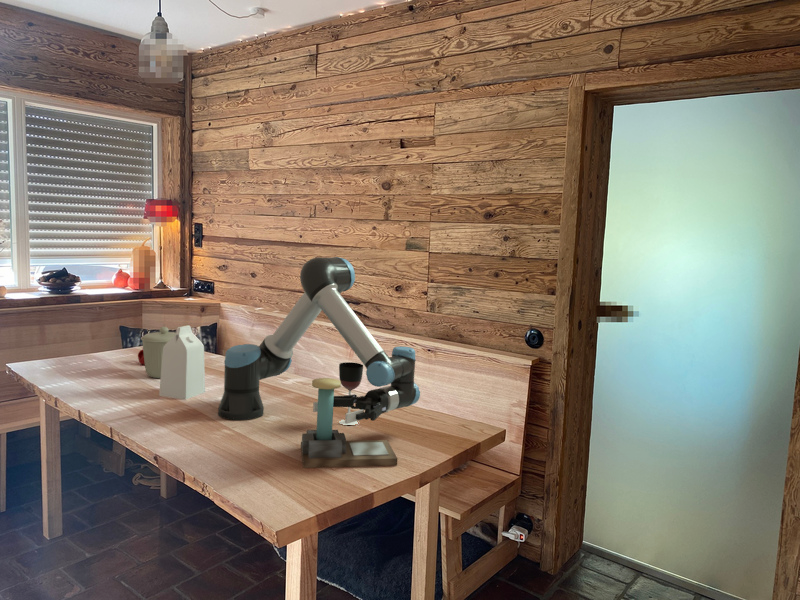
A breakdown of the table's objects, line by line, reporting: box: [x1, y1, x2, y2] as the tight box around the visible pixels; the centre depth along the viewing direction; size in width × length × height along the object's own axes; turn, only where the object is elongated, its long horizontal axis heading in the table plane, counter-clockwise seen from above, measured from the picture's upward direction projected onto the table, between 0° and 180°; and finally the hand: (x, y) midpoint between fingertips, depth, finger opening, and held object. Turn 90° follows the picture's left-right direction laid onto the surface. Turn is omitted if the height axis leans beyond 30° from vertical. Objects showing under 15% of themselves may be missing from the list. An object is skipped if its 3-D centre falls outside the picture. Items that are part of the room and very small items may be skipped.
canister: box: [140, 326, 176, 379], centre depth 247 cm, size 18×18×21 cm
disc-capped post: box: [311, 377, 342, 440], centre depth 165 cm, size 8×8×20 cm
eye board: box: [300, 429, 399, 469], centre depth 167 cm, size 26×15×6 cm, turn 102°
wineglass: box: [338, 361, 364, 425], centre depth 198 cm, size 8×9×20 cm
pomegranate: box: [137, 349, 145, 366], centre depth 267 cm, size 10×10×9 cm
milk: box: [158, 324, 206, 401], centre depth 221 cm, size 12×12×26 cm
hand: (329, 412), depth 165 cm, fingers open, 13 cm apart
